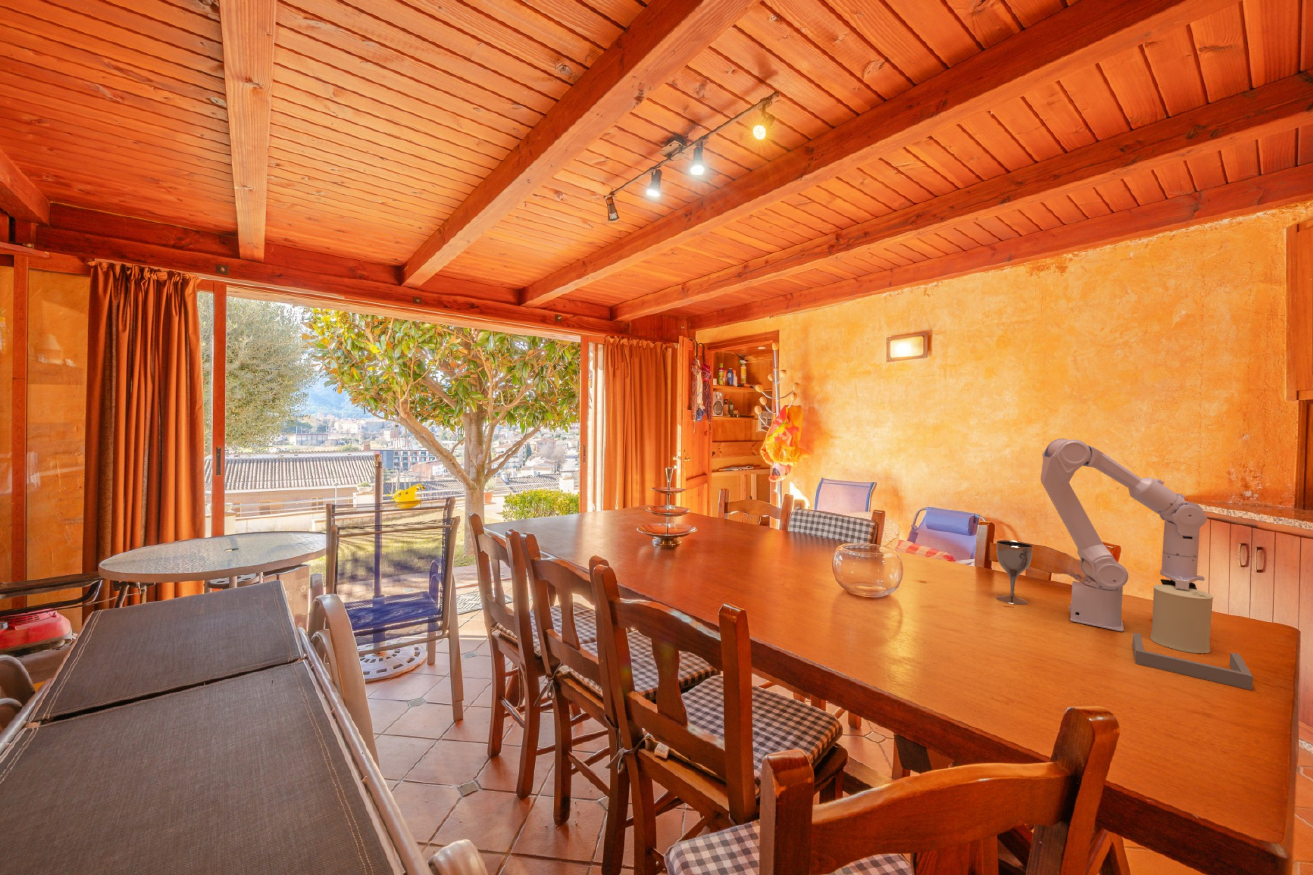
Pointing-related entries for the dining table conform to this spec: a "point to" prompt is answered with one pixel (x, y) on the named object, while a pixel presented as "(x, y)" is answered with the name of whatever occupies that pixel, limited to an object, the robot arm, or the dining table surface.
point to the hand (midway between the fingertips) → (1176, 613)
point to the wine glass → (1013, 564)
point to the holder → (1195, 666)
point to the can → (1181, 619)
